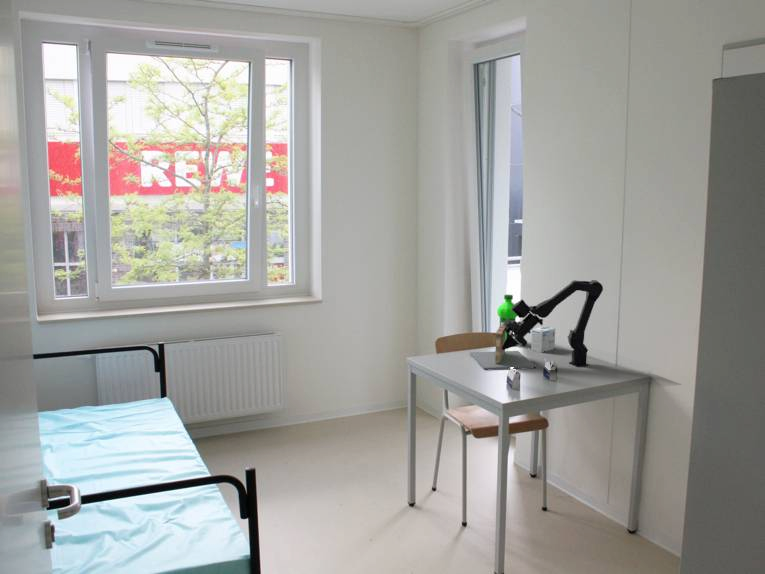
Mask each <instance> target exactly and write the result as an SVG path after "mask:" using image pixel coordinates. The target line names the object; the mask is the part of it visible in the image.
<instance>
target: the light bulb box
mask: <svg viewBox="0 0 765 574" xmlns="http://www.w3.org/2000/svg"><path fill="white" fill-rule="evenodd" d="M555 343H556V328H554V327H551V326H545V325H544V326H540V327H537V328H532V329H531V346H530V347H531V348H530V349H532V350H531V351H533V350H536V351H535V352H537V351H539V352H538V353H541V352H542V353H545V352H549V351H553V350H555V345H556V344H555ZM544 351H545V352H544Z"/></svg>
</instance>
